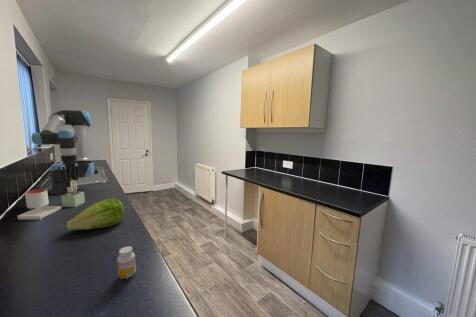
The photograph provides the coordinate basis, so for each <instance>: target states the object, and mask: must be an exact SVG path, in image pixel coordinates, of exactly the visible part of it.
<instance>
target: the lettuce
mask: <svg viewBox="0 0 476 317" xmlns="http://www.w3.org/2000/svg"><path fill="white" fill-rule="evenodd" d="M124 215H125V207H124V204H123V202H122V201H121V200H119V199H118V198H107V199H103V200H101V201H98V202H96V203H94V204H92V205H91V206H88V207H87V208H86V209H84V210H82V211H81V212H80V213H78V214H77V215H75V216H74V217H73V218H71V219H70V220H68V221H67V222H66V227H67V229H68V230H69V231H77V230H92V229H93V230H94V229H103V228H107V227H111V226H115V225H117V224H119V223H120V221H122V220H123V219H124V218H123V217H124Z"/></svg>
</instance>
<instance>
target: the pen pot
mask: <svg viewBox="0 0 476 317" xmlns="http://www.w3.org/2000/svg"><path fill="white" fill-rule="evenodd" d="M60 198H61V206H62V208H76V207H78V206H80V205H82V204H84V203H86V199H85V192H84V191H76V195H74V196H70V192H69V193H67V194H63V195H60Z"/></svg>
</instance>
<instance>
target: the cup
mask: <svg viewBox="0 0 476 317" xmlns="http://www.w3.org/2000/svg"><path fill="white" fill-rule="evenodd" d="M48 194H49V193H48V189H45V188H44V189H43V188H41V189H40V188H39V189H33V190H28V191H26V192H25V193H24V197H25V203H26V208H27V209H29V210H33V209H35V208H38V207H40V206H49V195H48Z"/></svg>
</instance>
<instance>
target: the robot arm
mask: <svg viewBox="0 0 476 317" xmlns="http://www.w3.org/2000/svg"><path fill="white" fill-rule="evenodd" d="M92 124H93V122H92V118H91V115H90V112H89V111H87V110H76V109H75V110H74V109H73V110H72V109H69V110H67V109H61V110H59V111H56V112H55V111H54V112H53V113H51V114H50V116H49V117H48V122H47V123H46V124H45V125H44V127H43V128H42V130H41V131H39V132H32V134H31V141H32V143H33V145H40V146H42V145H45V146H49V145H59V150H60V160H61V162H57V163H53V164H51V165H50V171H49V172H50V177H51V183H52V184H51V188H50V190H49V194H50V196H51V195H52V196H62V195H64V194H67V193H69V192H73V188H72V182H70V181H71V180H74V181H75V191H76V192H77V190H78V182H77V181H78V180H79V179H81V178H90V177H92V176H93V175H94V172H95V163H94V162H93V160H92V159H91V158H90V150H89V149H90V148H89V133H88V131H89V129H90V128H91V126H92ZM63 126H71V128H73V130H72V129H61V128H62V127H63Z"/></svg>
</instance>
